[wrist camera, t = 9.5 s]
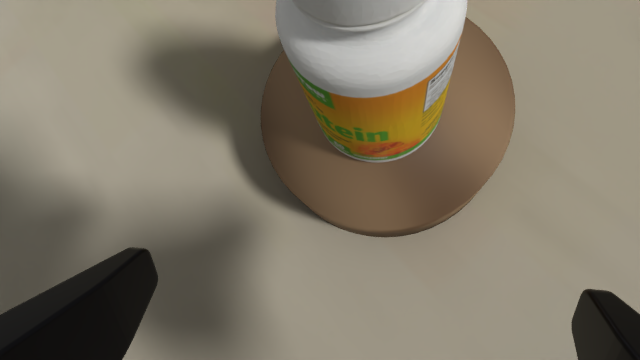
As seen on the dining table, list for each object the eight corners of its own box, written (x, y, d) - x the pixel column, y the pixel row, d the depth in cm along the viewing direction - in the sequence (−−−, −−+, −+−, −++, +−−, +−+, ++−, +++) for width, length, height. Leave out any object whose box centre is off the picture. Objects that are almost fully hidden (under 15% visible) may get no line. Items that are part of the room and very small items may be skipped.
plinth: (322, 272, 20) (310, 270, 17) (252, 85, 23) (231, 56, 20) (542, 181, 19) (568, 163, 16) (436, 1, 22) (441, -41, 19)
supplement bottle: (296, 135, 18) (193, -23, 9) (351, 36, 19) (307, -202, 10) (408, 186, 17) (421, 59, 8) (463, 76, 18) (535, -161, 8)
